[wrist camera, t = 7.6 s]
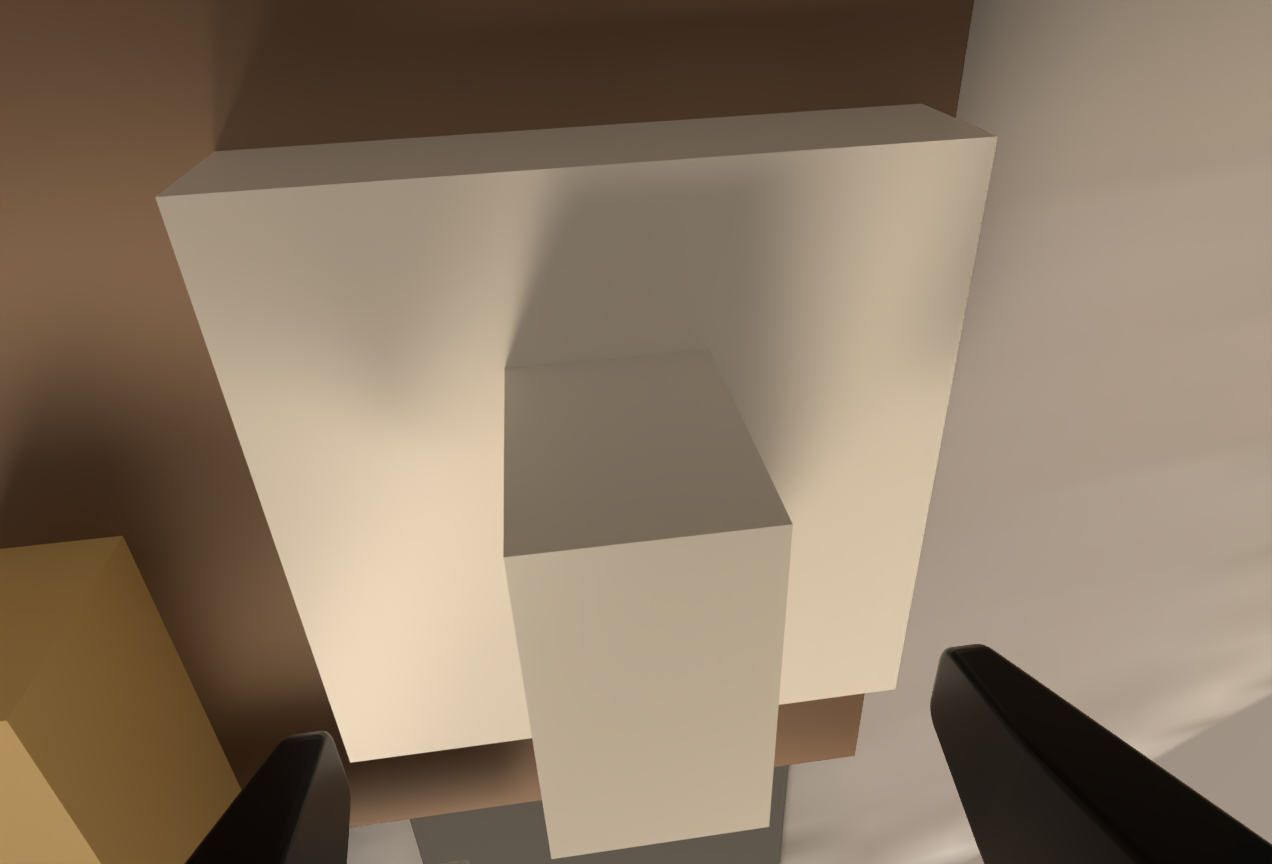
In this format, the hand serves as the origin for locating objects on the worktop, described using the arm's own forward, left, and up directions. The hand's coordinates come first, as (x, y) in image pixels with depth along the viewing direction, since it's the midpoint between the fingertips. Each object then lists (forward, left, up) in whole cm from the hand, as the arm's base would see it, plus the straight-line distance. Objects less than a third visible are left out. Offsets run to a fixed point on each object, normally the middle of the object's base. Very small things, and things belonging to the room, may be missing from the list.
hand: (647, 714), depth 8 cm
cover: (0, 0, -5) cm, 5 cm away
